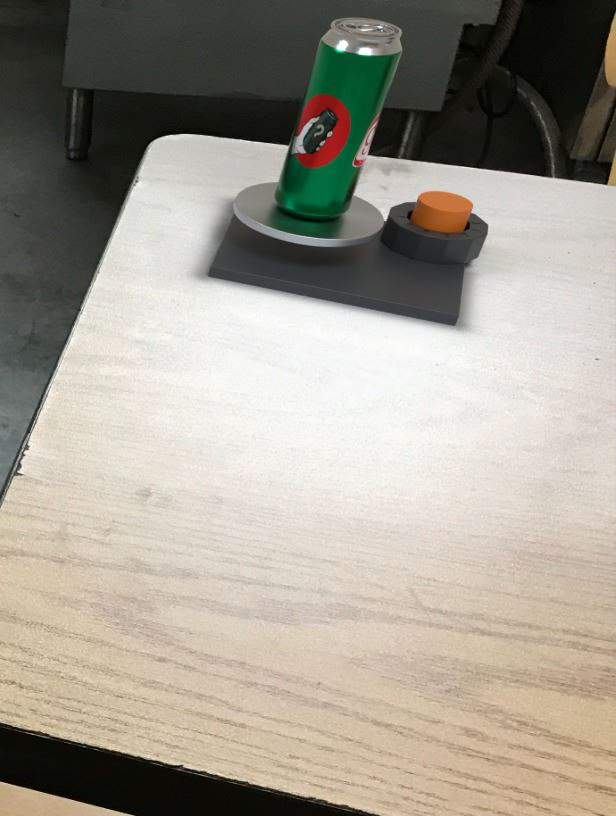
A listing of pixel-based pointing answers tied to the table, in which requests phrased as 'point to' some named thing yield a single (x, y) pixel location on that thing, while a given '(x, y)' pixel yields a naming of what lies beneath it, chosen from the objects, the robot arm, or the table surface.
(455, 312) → the scale
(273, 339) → the table surface
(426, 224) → the tare button
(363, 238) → the weighing pan
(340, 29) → the soda can
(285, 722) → the table surface
